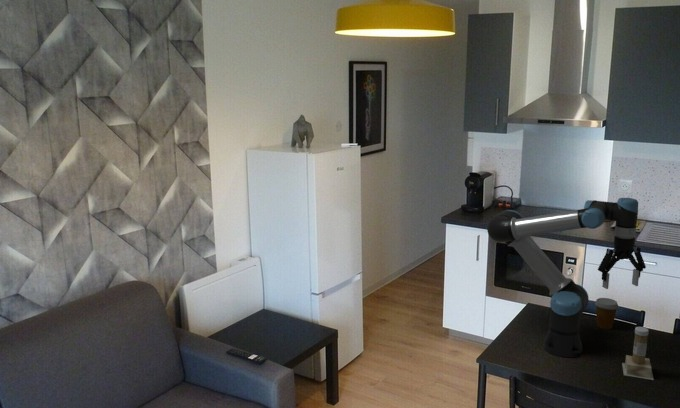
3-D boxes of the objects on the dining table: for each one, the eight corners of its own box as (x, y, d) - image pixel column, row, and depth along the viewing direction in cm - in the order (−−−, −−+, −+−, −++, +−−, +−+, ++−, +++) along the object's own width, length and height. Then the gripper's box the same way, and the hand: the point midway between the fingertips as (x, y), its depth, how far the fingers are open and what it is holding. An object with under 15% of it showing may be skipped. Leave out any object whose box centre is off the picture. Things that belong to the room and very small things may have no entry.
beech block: (626, 374, 215) (627, 364, 214) (625, 364, 223) (626, 355, 222) (650, 378, 212) (651, 368, 211) (648, 368, 220) (649, 358, 219)
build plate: (623, 376, 215) (623, 375, 215) (621, 364, 224) (622, 362, 224) (653, 381, 211) (653, 379, 211) (650, 369, 220) (650, 367, 220)
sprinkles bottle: (631, 357, 220) (635, 325, 217) (645, 360, 218) (648, 327, 215) (631, 363, 216) (635, 330, 213) (645, 365, 214) (649, 332, 211)
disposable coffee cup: (620, 330, 254) (622, 305, 251) (598, 330, 254) (600, 305, 251) (610, 321, 263) (612, 297, 260) (589, 322, 263) (591, 297, 260)
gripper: (602, 241, 223) (598, 292, 227) (658, 236, 227) (653, 287, 232) (591, 236, 230) (587, 285, 234) (645, 232, 234) (640, 280, 239)
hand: (620, 286), depth 233 cm, fingers open, 13 cm apart
